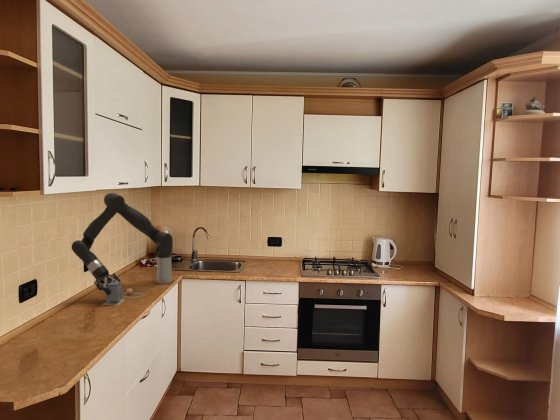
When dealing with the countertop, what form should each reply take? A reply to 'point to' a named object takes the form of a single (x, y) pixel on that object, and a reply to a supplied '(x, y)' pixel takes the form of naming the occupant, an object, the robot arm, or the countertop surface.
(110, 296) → the grey upright block
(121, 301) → the rubber mat
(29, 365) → the countertop surface
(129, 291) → the pink rounded lump
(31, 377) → the countertop surface
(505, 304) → the countertop surface
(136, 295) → the walnut board
